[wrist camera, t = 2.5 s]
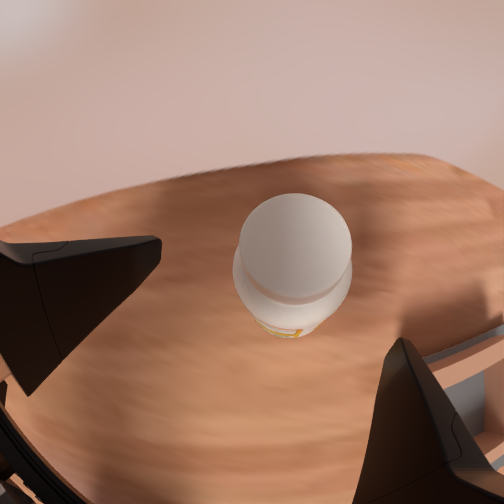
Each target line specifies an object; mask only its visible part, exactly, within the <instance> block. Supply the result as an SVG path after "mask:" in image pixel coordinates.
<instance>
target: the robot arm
mask: <svg viewBox="0 0 504 504" xmlns="http://www.w3.org/2000/svg"><path fill="white" fill-rule="evenodd" d="M161 250H162V241H161V239H159V238H157V237H155V236H152V235H150V236H133V237H117V238H102V239H88V240H75V241H70V242H69V241H61V242H44V243H6V242H3V241H0V504H36V503H35V502H34V501H33V499H32V498H31V497H29V496H28V495H26V494H25V493H24V492H23V491H22V489H21V488H20V487H19V486H18V485H17V484H15V483H14V482H13V481H12V480H11V479H10V477H11V476H12V475H13V474H14V473H15V474H16V475H17V476H19V477H20V478H21V479H22V480H23V481H24V482H23V484H24V485H25V486H26V487H27V488H28V489H30V490H31V491H33V493H34V494H35V495H36V496H35V497H36V498H37V499H38V500H39V501H40V502H42V503H43V504H93V503H92V502H91V501H90V500H88V499H87V498H86V497H85V496H84V495H82V494H81V493H80V492H79V491H78V490H77V489H75V488H74V487H73V486H72V485H71V484H70V483H69V482H68V481H67V480H66V479H65V478H63V477H62V476H61V475H60V474H59V473H58V472H57V471H56V470H55V469H54V468H53V467H52V466H51V465H50V464H49V462H48V461H47V460H46V459H45V458H44V457H43V456H42V455H41V454H40V453H39V452H38V450H37V449H36V448H35V447H34V446H33V445H32V443H31V442H30V441H29V440H28V439H27V437H26V436H25V435H24V434H23V432H22V431H21V430H20V428H19V427H18V426H17V424H16V423H15V422H14V420H13V419H12V418H11V416H10V415H9V413H8V412H7V411H6V409H5V400H6V392H7V383H6V382H5V380H4V379H6V378H7V377H8V376H10V375H12V376H13V378H14V379H15V381H16V382H17V383H18V385H19V386H20V388H21V389H22V390H23V392H24V393H25V394H26V395H27V397H29V396H30V395H31V394H32V393H33V392H34V391H35V390H36V389H37V388H38V387H39V386H40V384H41V383H42V382H43V381H44V380H45V379H46V378H47V377H48V376H49V375H50V374H51V373H52V372H53V371H54V369H55V368H56V367H57V366H58V365H59V364H60V363H61V362H62V360H64V359H65V358H66V357H67V356H68V355H69V354H70V353H71V352H72V351H73V350H74V349H75V348H76V347H77V346H78V345H79V344H80V343H81V342H82V341H83V340H84V339H85V338H86V337H87V336H88V335H89V334H90V333H91V332H92V331H93V330H94V329H95V328H96V327H97V326H98V325H99V324H100V323H101V322H102V321H103V320H104V319H105V318H106V317H107V316H108V315H109V314H111V313H112V312H113V311H114V310H115V309H116V308H117V307H118V306H119V305H120V304H121V303H122V302H123V301H124V300H125V299H126V298H128V297H129V296H130V295H131V294H132V293H133V292H134V291H135V290H136V289H137V288H138V287H139V286H140V285H141V283H142V282H143V281H144V280H145V279H146V278H147V277H148V276H149V274H150V273H151V272H152V271H153V270H154V269H155V268H156V267H157V266H158V264H159V263H160V260H161ZM352 504H504V475H502V474H500V473H498V472H497V471H496V470H495V469H494V468H493V467H492V466H491V464H490V463H489V461H488V460H487V458H486V457H485V455H484V453H483V452H482V450H481V449H480V447H479V446H478V444H477V443H476V441H475V440H474V438H473V437H472V435H471V433H470V432H469V430H468V429H467V427H466V425H465V424H464V422H463V421H462V419H461V417H460V416H459V414H458V412H457V411H456V409H455V407H454V406H453V404H452V402H451V401H450V399H449V398H448V396H447V394H446V393H445V391H444V390H443V388H442V387H441V385H440V384H439V382H438V381H437V379H436V377H435V376H434V374H433V373H432V371H431V370H430V369H429V367H428V366H427V364H426V363H425V361H424V360H423V358H422V357H421V355H420V354H419V353H418V351H417V350H416V348H415V347H414V345H413V344H412V343H411V341H410V340H408V339H405V338H402V337H400V338H398V339H397V340H396V342H395V343H394V344H393V346H392V347H391V349H390V350H389V352H388V353H387V355H386V356H385V359H384V363H383V368H382V373H381V377H380V382H379V386H378V390H377V394H376V399H375V405H374V412H373V418H372V424H371V429H370V435H369V440H368V445H367V449H366V454H365V458H364V462H363V466H362V470H361V474H360V478H359V482H358V485H357V489H356V492H355V495H354V499H353V502H352Z"/></svg>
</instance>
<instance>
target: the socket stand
mask: <svg viewBox="0 0 504 504" xmlns="http://www.w3.org/2000/svg"><path fill="white" fill-rule="evenodd" d="M422 358H423V360H424V361H425V363H426V364H427V366H428V367H429V369H430V370H431V371H432V373H433V374H434V376H435V377H436V379H437V381H438V382H439V384H440V385H441V387H442V388H443V390H444V391H445V393H446V394H447V396H448V398H449V399H450V401H451V402H452V404H453V406H454V407H455V409H456V411H457V412H458V414H459V416H460V417H461V419H462V421H463V422H464V424H465V425H466V427H467V429H468V430H469V432H470V433H471V435H472V437H473V438H474V440H475V441H476V443H477V444H478V446H479V447H480V449H481V450H482V452H483V453H484V455H485V457H486V458H487V460H488V461H489V463H490V464H491V466H492V467H493V468H494V469H495V470H496V471H497V470H498V469H499V468H501V467H502V466H503V465H504V323H502V324H500V325H498V326H496V327H494V328H492V329H490V330H488V331H486V332H484V333H482V334H480V335H478V336H475V337H473V338H471V339H468V340H466V341H464V342H461V343H459V344H457V345H454V346H452V347H449V348H446V349H444V350H441V351H439V352H436V353H433V354H430V355H427V356H425V357H422Z"/></svg>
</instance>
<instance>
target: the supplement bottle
mask: <svg viewBox="0 0 504 504" xmlns="http://www.w3.org/2000/svg"><path fill="white" fill-rule="evenodd" d="M351 254H352V241H351V235H350V232H349V229H348V226H347V224H346V222H345V220H344V219H343V217H342V216H341V215H340V213H339V212H338V211H337V210H336V209H335V208H334V207H332V206H331V205H330V204H328V203H327V202H325V201H323V200H321V199H319V198H317V197H314V196H311V195H307V194H300V193H290V194H283V195H278V196H275V197H272V198H270V199H268V200H266V201H264V202H263V203H261V204H260V205H259V206H257V207H256V208H255V209H254V210H253V211H252V212H251V213H250V215H249V216H248V217H247V219H246V221H245V222H244V224H243V227H242V229H241V233H240V237H239V245H238V247H237V249H236V252H235V255H234V259H233V280H234V284H235V288H236V291H237V293H238V295H239V297H240V299H241V301H242V302H243V304H244V305H245V307H246V308H247V310H248V311H249V312H250V314H251V315H252V317H253V318H254V319H255V321H256V322H257V323H258V324H259V325H260V326H261V327H262V328H263V329H264V330H265V331H267V332H268V333H270V334H272V335H275V336H278V337H282V338H297V337H301V336H304V335H306V334H308V333H310V332H312V331H313V330H315V329H316V328H317V327H318V326H319V325H320V324H322V323H323V322H324V321H325V320H326V319H328V318H329V317H330V316H331V315H332V314H333V313H334V312H335V311H336V310H337V309H338V308H339V306H340V305H341V303H342V302H343V300H344V299H345V297H346V295H347V293H348V291H349V288H350V284H351V280H352V261H351Z"/></svg>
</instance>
